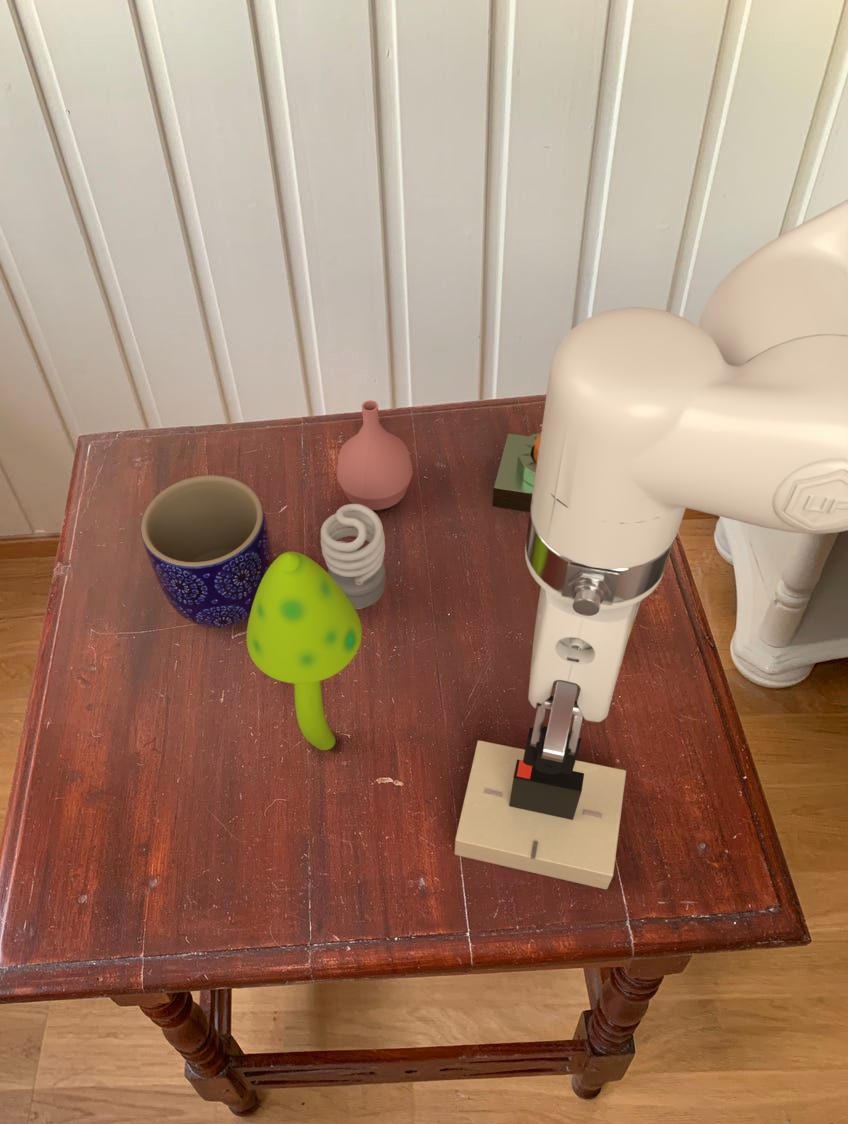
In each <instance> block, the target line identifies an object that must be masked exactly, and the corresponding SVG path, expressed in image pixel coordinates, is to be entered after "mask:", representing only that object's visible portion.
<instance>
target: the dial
mask: <svg viewBox="0 0 848 1124" xmlns="http://www.w3.org/2000/svg"><path fill="white" fill-rule="evenodd" d="M583 779H584V773H581V772H576V771H572V773H571V774H565V773H561V772H560V773H558V774H547V773H543V772H540V771H538V770H537V769H536V768H535V767H534V766H529V765H526V764H524V763H523V760H517V762H516V767H515V772H514V777H513V783H512V790H511V796H510V802H509V806H510V807H515V808H519V809H524V810H529V811H533V812H538V813H542V814H547V815H552V816H556V817H561V818H565V819H570V820H573V819H574V815H575V812H576V809H577V805H578V802H579V799H580V795H581V792H582V786H583Z"/></svg>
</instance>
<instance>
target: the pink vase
mask: <svg viewBox="0 0 848 1124" xmlns="http://www.w3.org/2000/svg"><path fill="white" fill-rule="evenodd" d="M361 414H362V423H363V424H362V426H361V427H360V429H359V431H358V433H357V434H355V435H353V436H351V437H350V438H349V439H348V440H347V441H346V442H344V443H343V444H342V445H341V448H340V450H339V453H338V456H337V464H336V480H337V482H338V484H339V486H340V487H341V490H342V491H343V493H344V495H345V497H346V498H347V499H348V501H349V502H350V503H351V504H361V505H363V506H366V507H368V508H369V509H371V510H372V511H380V510H384V509H389V508H391V507H393V506H395V505H396V504H399V502H400V501H401V500H402V499H403V498H404V497H405V495H406V492H407V491H408V487H409V485H410V482H411V480H412V477H413V474H414V473H413V472H414V471H413V463H412V459H411V457H410V453H409V449H408V447H407V445H406V444H405V442H404V441H403V440H402V439H401V438H399V437H397V436H396V435H395V434H392V433H390V432H388V431H387V430H385V428H384V427H383V426H382V425H381V423H380V417H379V416H380V415H379V403H378V402H377V401H375V400H366V401H364V402H363V403H361Z"/></svg>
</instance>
